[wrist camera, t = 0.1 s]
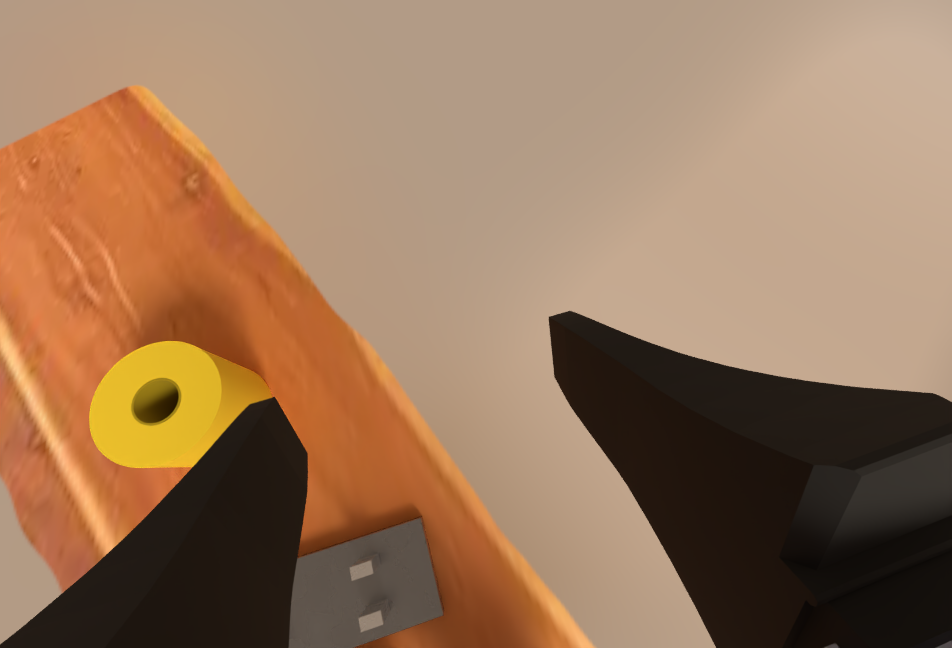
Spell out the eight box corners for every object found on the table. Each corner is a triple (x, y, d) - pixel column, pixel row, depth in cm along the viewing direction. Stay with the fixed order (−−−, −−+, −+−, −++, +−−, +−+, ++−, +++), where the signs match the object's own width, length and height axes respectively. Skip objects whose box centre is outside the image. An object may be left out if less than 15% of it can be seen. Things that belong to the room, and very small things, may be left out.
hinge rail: (444, 610, 36) (441, 628, 32) (212, 693, 34) (179, 724, 30) (422, 516, 39) (417, 522, 35) (204, 587, 36) (172, 603, 32)
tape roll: (245, 348, 44) (188, 318, 35) (291, 424, 41) (243, 413, 32) (154, 404, 41) (69, 388, 32) (198, 488, 39) (119, 496, 30)
